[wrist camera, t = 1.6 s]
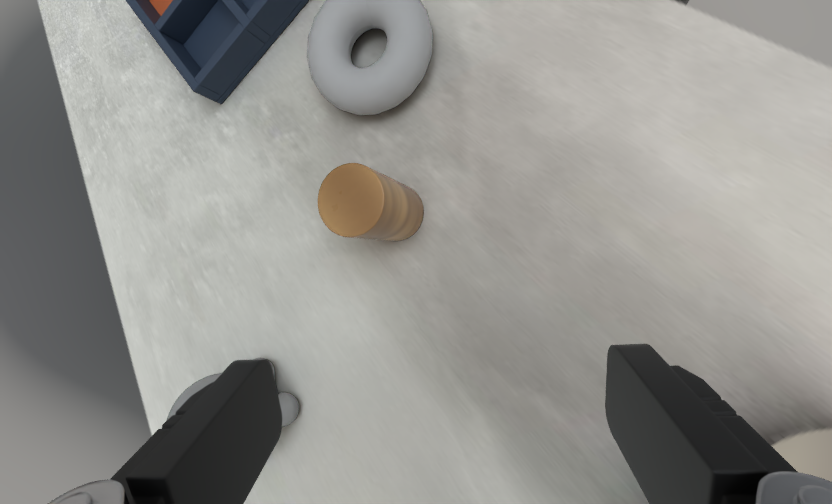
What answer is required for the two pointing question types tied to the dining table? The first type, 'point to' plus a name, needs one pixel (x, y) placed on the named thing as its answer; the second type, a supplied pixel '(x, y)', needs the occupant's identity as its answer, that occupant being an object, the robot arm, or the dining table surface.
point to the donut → (389, 76)
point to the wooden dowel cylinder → (368, 204)
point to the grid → (215, 37)
